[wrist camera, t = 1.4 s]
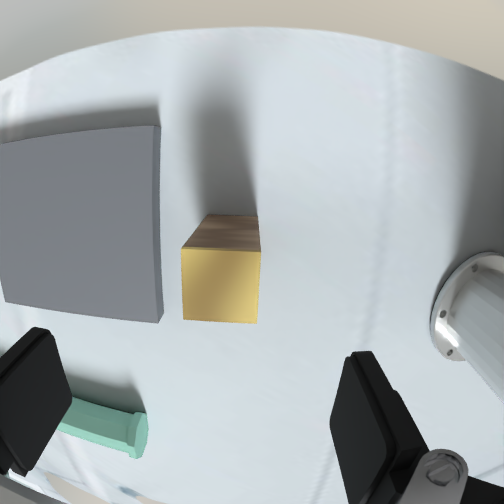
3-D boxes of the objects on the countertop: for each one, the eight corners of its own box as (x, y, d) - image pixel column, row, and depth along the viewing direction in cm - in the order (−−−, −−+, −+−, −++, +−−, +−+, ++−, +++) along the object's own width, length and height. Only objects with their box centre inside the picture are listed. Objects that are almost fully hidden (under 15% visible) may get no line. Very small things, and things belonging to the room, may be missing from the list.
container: (-27, 400, 26) (134, 468, 27) (-31, 360, 27) (134, 423, 27) (-3, 391, 32) (148, 445, 32) (-5, 354, 33) (149, 404, 33)
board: (161, 127, 24) (153, 125, 22) (163, 312, 28) (158, 323, 26) (1, 146, 23) (-12, 146, 21) (15, 294, 28) (5, 301, 26)
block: (257, 216, 26) (260, 252, 16) (255, 264, 27) (256, 323, 17) (207, 214, 26) (180, 248, 16) (207, 262, 27) (183, 319, 17)
